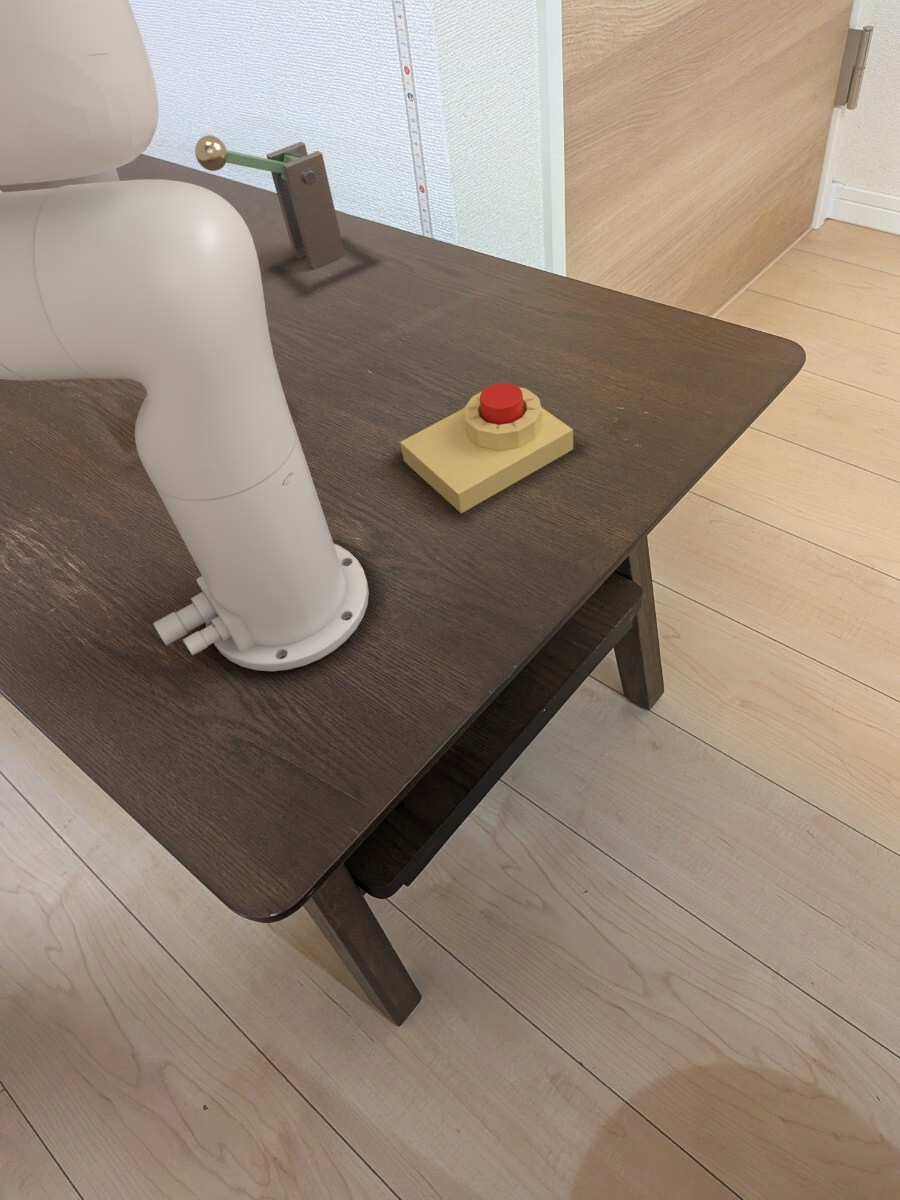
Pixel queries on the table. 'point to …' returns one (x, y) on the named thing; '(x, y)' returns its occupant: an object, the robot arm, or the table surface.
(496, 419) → the button
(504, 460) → the button box
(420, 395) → the table surface
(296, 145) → the bracket
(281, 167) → the lever
